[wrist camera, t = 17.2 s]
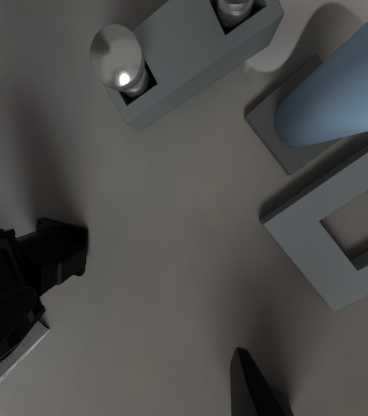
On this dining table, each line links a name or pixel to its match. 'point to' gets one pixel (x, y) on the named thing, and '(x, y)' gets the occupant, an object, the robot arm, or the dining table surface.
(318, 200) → the socket plate
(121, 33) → the plunger
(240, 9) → the plunger
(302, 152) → the mat
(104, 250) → the dining table surface
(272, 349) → the dining table surface
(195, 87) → the bar
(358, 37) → the cartridge
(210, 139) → the dining table surface
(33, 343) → the supplement box
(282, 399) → the travel mug
